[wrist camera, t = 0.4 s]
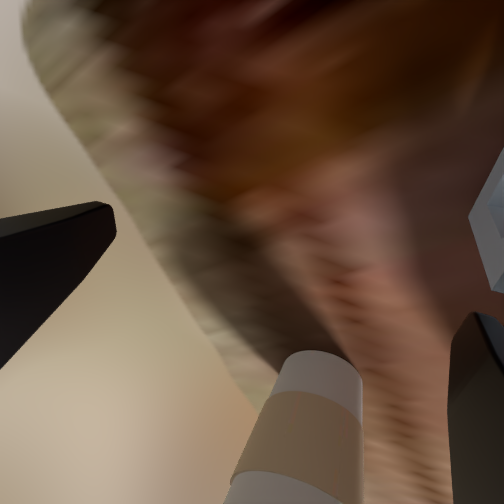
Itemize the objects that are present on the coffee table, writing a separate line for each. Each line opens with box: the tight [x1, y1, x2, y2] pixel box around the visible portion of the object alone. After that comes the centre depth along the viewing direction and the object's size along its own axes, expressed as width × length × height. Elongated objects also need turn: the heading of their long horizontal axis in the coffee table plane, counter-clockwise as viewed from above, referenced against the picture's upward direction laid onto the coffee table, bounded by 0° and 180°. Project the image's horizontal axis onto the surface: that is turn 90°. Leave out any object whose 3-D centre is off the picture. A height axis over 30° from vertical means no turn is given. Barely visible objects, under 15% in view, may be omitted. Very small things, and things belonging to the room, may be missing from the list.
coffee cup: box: [223, 350, 364, 504], centre depth 24 cm, size 9×9×15 cm
